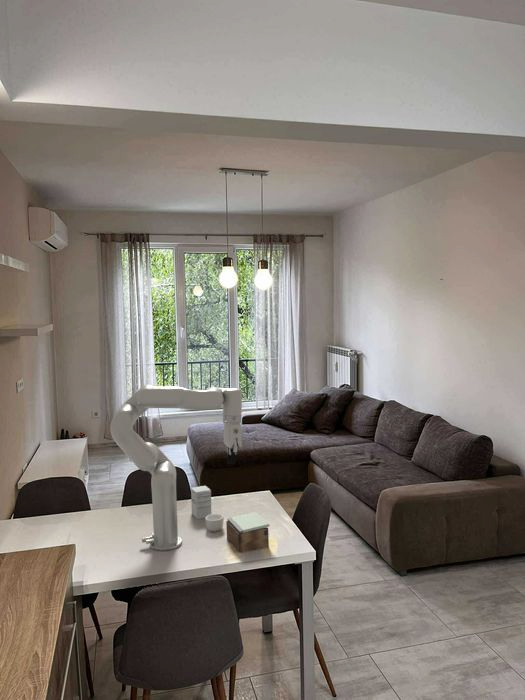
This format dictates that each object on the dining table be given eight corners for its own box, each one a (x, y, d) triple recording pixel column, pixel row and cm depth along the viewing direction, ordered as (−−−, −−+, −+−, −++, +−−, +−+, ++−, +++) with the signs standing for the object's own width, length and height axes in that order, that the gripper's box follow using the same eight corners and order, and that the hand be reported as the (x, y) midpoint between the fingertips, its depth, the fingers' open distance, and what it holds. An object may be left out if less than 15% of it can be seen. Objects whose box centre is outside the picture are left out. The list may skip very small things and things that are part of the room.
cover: (239, 533, 211) (239, 530, 211) (227, 520, 224) (227, 518, 224) (269, 526, 216) (269, 523, 215) (255, 514, 229) (255, 512, 229)
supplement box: (191, 514, 253) (190, 487, 252) (206, 511, 256) (205, 485, 255) (196, 519, 246) (195, 492, 245) (212, 516, 249) (211, 489, 248)
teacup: (221, 533, 230) (221, 520, 230) (203, 532, 231) (203, 520, 231) (226, 524, 240) (225, 512, 240) (209, 523, 241) (208, 511, 241)
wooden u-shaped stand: (239, 553, 211) (238, 534, 210) (226, 538, 225) (226, 520, 224) (269, 547, 216) (268, 528, 215) (254, 533, 229) (254, 515, 229)
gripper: (247, 421, 215) (246, 468, 216) (235, 415, 229) (234, 458, 230) (228, 422, 213) (228, 469, 214) (217, 416, 226) (217, 459, 228)
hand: (231, 463), depth 222 cm, fingers closed
